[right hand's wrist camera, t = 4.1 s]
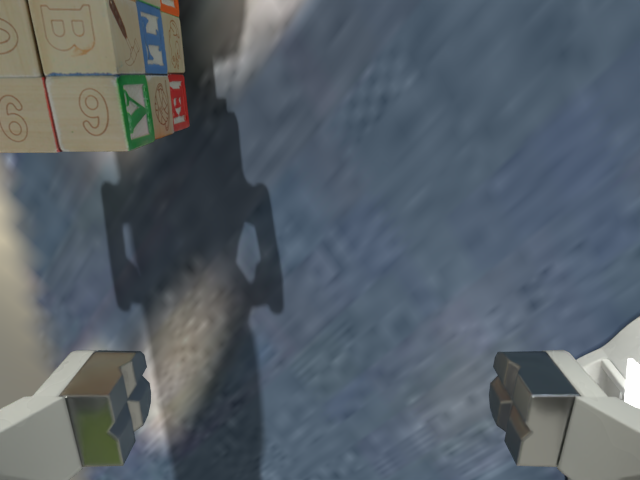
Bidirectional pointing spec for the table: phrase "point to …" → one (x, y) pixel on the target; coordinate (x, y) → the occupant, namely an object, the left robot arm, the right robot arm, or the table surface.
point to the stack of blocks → (90, 74)
